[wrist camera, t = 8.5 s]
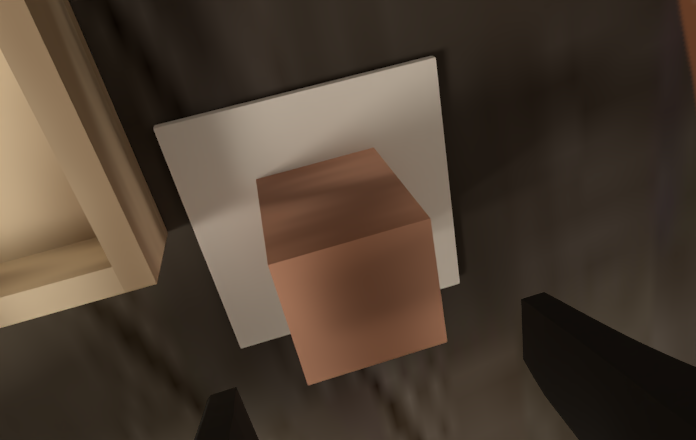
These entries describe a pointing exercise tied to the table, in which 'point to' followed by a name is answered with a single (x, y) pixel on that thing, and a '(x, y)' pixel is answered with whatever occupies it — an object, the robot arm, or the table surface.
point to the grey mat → (297, 151)
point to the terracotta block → (351, 264)
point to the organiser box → (65, 173)
